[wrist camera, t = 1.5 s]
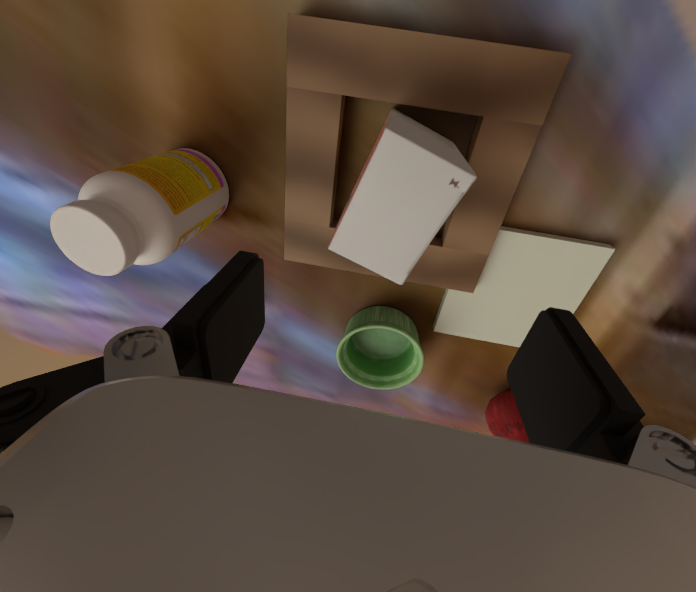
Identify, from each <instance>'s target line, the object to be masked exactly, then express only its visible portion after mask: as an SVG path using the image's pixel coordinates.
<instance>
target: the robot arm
mask: <svg viewBox="0 0 696 592" xmlns="http://www.w3.org/2000/svg"><path fill="white" fill-rule="evenodd" d="M264 323H265V306H264V264H263V259H260V258H259V257H258V254H256V253H251V252H245V251H239V252H238V253H237V254H236V255H235V256H234V257H233V258H232V259H231V260H230V261H229V262H228V263H227V264H226V265H225V266H224V267H223V268H222V269H221V270H220V271H219V272H218V273H217V274H216V275H215V276H214V277H213V278H212V279H211V280H210V281H209V282H208V283H207V284H206V285H204V286H203V287H202V288H201V289H200V290H199V291H198V292H197V293H196V294H195V295H194V296H193V297H192V298H191V299H190V300H189V301H188V302H187V303H186V304H185V305H184V306H183V307H182V308H181V309H180V310H179V311H178V312H177V313H176V315H175V316H174V317H173V318H172V319H171V320H170V321H169V322H168V323H167V324H166V325H165V326H164V327H163V328H158V327H155V326H141V327H134V328H131V329H128V330H125V331H123V332H121V333H119V334H117V335H116V336H114V337H113V338H112V339H110V340H109V342H108V343H107V344H106V346H105V348H104V356H102V357H99V358H96V359H92V360H89V361H85V362H82V363H79V364H75V365H72V366H68V367H65V368H62V369H58V370H55V371H51V372H48V373H45V374H41V375H38V376H34V377H31V378H28V379H24V380H21V381H17V382H14V383H12V384H9V385H6V386H3V387H1V388H0V592H696V445H694V444H693V443H692V442H690V441H689V440H687V439H686V438H684V437H683V436H682V435H680V434H678V433H676V432H674V431H672V430H670V429H667V428H664V427H661V426H655V425H648V426H645V427H644V426H643V425H642V423H641V422H640V421H639V420H640V419H641V418H642V417H643V416H644V415H645V413H644V412H643V410H642V409H641V407H640V406H639V405H638V403H637V402H636V401H635V399H634V398H633V396H632V395H631V394H630V392H629V391H628V390H627V388H626V387H625V385H624V384H623V383H622V381H621V380H620V378H619V377H618V376H617V374H616V373H615V372H614V370H613V369H612V367H611V366H610V365H609V363H608V362H607V360H606V359H605V358H604V356H603V355H602V354H601V352H600V351H599V349H598V348H597V347H596V345H595V344H594V343H593V341H592V340H591V338H590V337H589V336H588V334H587V333H586V331H585V330H584V329H583V327H582V326H581V325H580V323H579V322H578V320H577V319H576V318H575V316H574V315H573V314H572V312H571V311H569V310H564V309H558V308H553V307H550V308H548V309H546V310H543V311H541V312H540V313H539V314H538V316H537V318H536V320H535V321H534V323H533V325H532V327H531V328H530V330H529V332H528V334H527V335H526V337H525V339H524V341H523V343H522V344H521V346H520V348H519V350H518V351H517V353H516V355H515V357H514V358H513V360H512V362H511V364H510V365H509V367H508V370H507V378H508V382H509V384H510V387H511V390H512V393H513V396H514V399H515V402H516V405H517V408H518V410H519V413H520V416H521V419H522V422H523V425H524V428H525V431H526V434H527V436H528V439H529V442H530V443H526V442H522V441H517V440H512V439H507V438H503V437H498V436H493V435H488V434H483V433H479V432H474V431H469V430H464V429H460V428H455V427H450V426H445V425H440V424H435V423H430V422H425V421H421V420H416V419H411V418H406V417H401V416H396V415H391V414H386V413H381V412H376V411H371V410H366V409H362V408H357V407H352V406H346V405H341V404H336V403H331V402H326V401H321V400H316V399H311V398H306V397H301V396H296V395H291V394H286V393H281V392H276V391H271V390H265V389H260V388H255V387H250V386H245V385H239V384H233V381H234V379H235V377H236V376H237V374H238V372H239V370H240V369H241V367H242V365H243V363H244V362H245V360H246V358H247V356H248V355H249V353H250V351H251V349H252V348H253V346H254V344H255V343H256V341H257V339H258V337H259V336H260V334H261V332H262V330H263V328H264Z"/></svg>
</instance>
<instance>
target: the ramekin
mask: <svg viewBox="0 0 696 592" xmlns="http://www.w3.org/2000/svg"><path fill="white" fill-rule="evenodd" d="M336 357H337V362H338V364H339V367H340V368H341V370H342V371H343V373H344V374H345V375H346V376H347V377H348V378H350V379H351V380H353V381H354V382H356V383H358V384H360V385H362V386H365V387H369V388H373V389H394V388H398V387H401V386H404V385H406V384H408V383H410V382H411V381H413V380H414V379H415V378H416V377H417V376H418V375H419V374H420V372H421V370H422V368H423V364H424V355H423V351H422V348H421V345H420V342H419V337H418V332H417V329H416V326H415V324H414V323H413V321H412V320H411V319H410V318H409V317H408V316H407V315H406V314H405V313H403V312H401V311H399V310H397V309H394V308H391V307H386V306H373V307H369V308H365V309H363V310H361V311H359V312H358V313H356V314H355V315H354V316H353V317H352V318H351V319H350V321H349V323H348V325H347V327H346V330H345V333H344V336H343V337H342V339H341V341H340V342H339V345H338V348H337V353H336Z"/></svg>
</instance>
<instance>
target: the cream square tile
mask: <svg viewBox="0 0 696 592" xmlns="http://www.w3.org/2000/svg"><path fill="white" fill-rule="evenodd" d="M614 251H615V249H614V248H613V247H612V246H611V245H609V244H605V243H599V242H593V241H587V240H581V239H575V238H569V237H563V236H557V235H551V234H545V233H539V232H534V231H528V230H522V229H516V228H510V227H504V226H501V227H500V230H499V232H498V234H497V237H496V239H495V242H494V244H493V247H492V249H491V251H490V254H489V256H488V259H487V261H486V264H485V266H484V268H483V271H482V273H481V276H480V278H479V281H478V283H477V285H476V288H475V290H474V293H469V292H463V291H457V290H452V289H445V292H444V295H443V298H442V301H441V304H440V307H439V309H438V312H437V315H436V318H435V321H434V324H433V331H434V332H440V333H445V334H451V335H456V336H461V337H467V338H472V339H477V340H483V341H488V342H494V343H499V344H504V345H510V346H515V347H520V346H521V344H522V343H523V341H524V339H525V337H526V335H527V334H528V332H529V330H530V328H531V327H532V325H533V323H534V321H535V320H536V318H537V316H538V314H539V313H540V312H541V311H543V310H546V309H548V308H550V307H553V308H558V309H564V310H569V311H571V312H572V314H574V312H575V311H576V309H577V308H578V306H579V304H580V303H581V301H582V300H583V298H584V297H585V295H586V294H587V292H588V291H589V289H590V288H591V286H592V284H593V283H594V281H595V280H596V278H597V277H598V275H599V274H600V272H601V271H602V269H603V268H604V266H605V264H606V263H607V261H608V260H609V258H610V257H611V255H612V254H613V252H614Z"/></svg>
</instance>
